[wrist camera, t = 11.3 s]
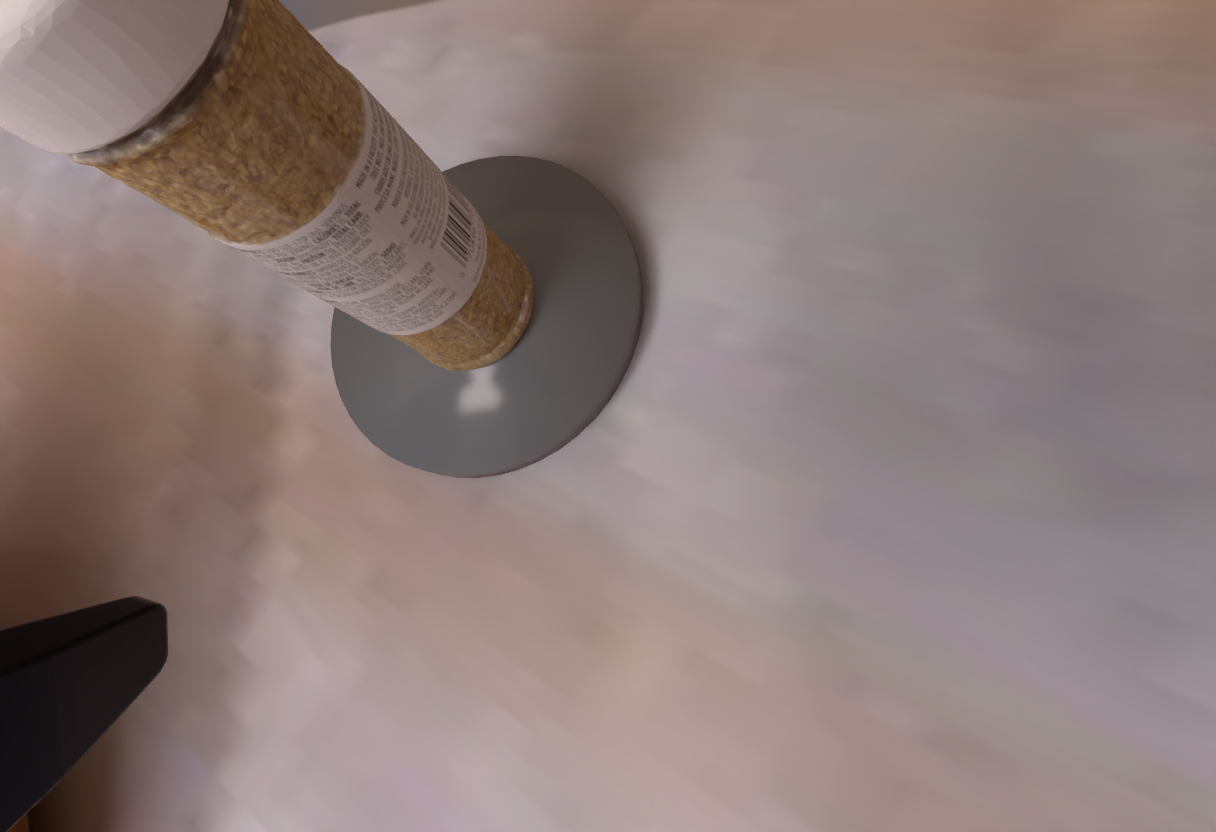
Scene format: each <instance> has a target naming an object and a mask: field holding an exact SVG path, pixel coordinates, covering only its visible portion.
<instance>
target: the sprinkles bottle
mask: <svg viewBox="0 0 1216 832" xmlns="http://www.w3.org/2000/svg"><path fill="white" fill-rule="evenodd" d="M0 127H2V128H4V129H5V130H7V131H9V132H11V133H13V134H14V135H16V136H18V137H20V138H22V139H23V140H25V141H27V142H29V143H31V144H32V145H34V146H36V147H38V148H40V149H43V150H47V151H50V152H54V153H62V154H68V155H69V158H70V159H71V160H72V161H75V162H77V163H80V164H85V165H91V166H95V167H97V168H98V169H100V170H102V171H103V172H105V173H106V174H108V175H110V176H111V177H113V178H115V179H119V180H121V181H122V182H124V184H125V185H127V186H129V187H131V188H133V189H136V190H138V191H140V192H141V193H143V194H144V195H146V196H147V197H150V198H152V199H153V200H154V201H156V202H158V203H160V204H162V205H164V206H165V207H167V208H169V209H171V210H173V211H174V212H176V213H178V214H179V215H181V216H183V217H185V218H186V219H188V220H190V221H191V222H192V223H194V224H195V225H197V226H199V227H201V228H202V229H204V230H207V231H208V232H209V234H210V235H211V236H212V237H213V238H214V239H216V240H218V241H219V242H221V243H223V244H225V245H226V246H228V247H230V248H232V249H233V250H235V251H237V252H239V253H241V254H242V255H244V256H246V257H248V258H249V259H251V260H253V261H255V262H257V263H258V264H260V265H262V266H264V267H265V268H267V269H269V270H271V271H273V272H274V273H276V274H278V275H280V276H281V277H283V278H285V279H287V280H288V281H290V282H292V283H294V284H296V285H297V286H299V287H301V288H303V289H304V290H306V291H308V292H310V293H311V294H313V295H315V296H317V297H319V298H320V299H322V300H324V301H326V302H327V303H329V304H331V305H333V306H334V307H336V308H338V309H340V310H342V311H343V312H345V313H347V314H349V315H350V316H352V317H354V318H356V319H358V320H359V321H361V322H363V323H365V324H367V325H368V326H370V327H372V328H374V329H376V330H378V331H381V332H384V333H387V334H388V335H390V336H392V337H394V338H396V339H398V340H400V341H401V342H403V343H405V344H407V345H408V346H410V347H412V348H413V349H415V350H417V352H418V353H419V354H420V355H422V356H423V357H424V358H425V359H426V360H428V361H429V362H431V363H433V364H435V365H437V366H440V367H442V368H444V369H447V370H449V371H460V370H461V371H467V370H474V369H478V368H482V367H484V366H487V365H489V364H491V363H493V362H495V361H497V360H500V359H501V358H502V357H503V356H504V355H505V354H506V353H507V352H508V351H509V350H511V349H512V347H513V346H514V345H515V343H516V342H517V341H518V340H519V339H520V337H521V336H522V334H523V332H524V330H525V328H526V327H527V325H528V322H529V320H530V318H531V316H532V309H533V303H534V294H533V281H532V277H531V275H530V273H529V270H528V267H527V266H526V264H525V262H524V260H523V259H522V258H521V257H520V256H519V255H518V254H517V253H516V252H515V251H514V250H513V249H512V248H511V247H510V246H509V245H507V244H505V243H502V242H501V241H500V240H499V238H498V237H497V236H496V235H495V234H494V233H493V232H492V231H491V230H490V229H489V228H488V227H487V226H486V225H485V224H484V222H483V221H482V220H481V218H480V216H479V214H478V212H477V211H476V209H475V208H474V207H473V206H472V204H471V203H470V202H469V201H468V200H467V199H466V198H465V197H464V196H463V194H462V193H461V192H460V191H459V190H458V189H457V188H456V187H455V186H454V185H453V183H452V182H451V181H450V180H449V179H448V178H447V177H446V176H445V175H444V174H443V172H442V171H441V170H440V169H439V168H438V167H437V166H436V165H435V164H434V163H433V161H432V160H431V159H430V158H429V157H428V156H427V155H426V154H425V153H424V151H423V150H422V149H421V148H420V147H419V146H418V145H417V144H416V143H415V141H414V140H413V139H412V138H411V137H410V136H409V135H408V134H407V133H406V131H405V130H404V129H403V128H402V127H401V126H400V125H399V124H398V123H397V121H396V120H395V119H394V118H393V117H392V116H391V115H390V114H389V113H388V112H387V111H386V109H385V108H384V107H383V106H382V105H381V104H380V103H379V102H378V101H377V100H376V99H375V98H374V96H373V95H372V94H371V93H370V92H369V91H368V90H367V89H366V88H365V87H364V86H363V84H362V83H361V82H360V81H359V80H358V79H357V78H356V77H355V76H354V75H353V74H352V73H351V72H350V71H349V70H348V69H346V68H345V67H343V66H341V65H340V64H338V63H337V62H336V61H335V60H334V58H333V57H332V56H331V55H330V54H329V53H328V52H327V51H326V50H325V49H324V48H323V46H322V45H321V44H320V43H319V42H318V41H317V40H316V39H315V38H314V37H313V36H312V35H311V34H309V33H308V31H307V30H306V29H305V28H304V27H303V26H302V25H301V24H300V22H299V21H298V20H297V19H296V18H295V16H294V15H293V14H292V13H291V12H289V11H288V10H287V9H286V8H285V6H284V5H283V4H282V3H281V2H279V1H278V0H0Z"/></svg>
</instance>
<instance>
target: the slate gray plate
mask: <svg viewBox="0 0 1216 832" xmlns="http://www.w3.org/2000/svg"><path fill="white" fill-rule="evenodd" d="M443 174H444V175H445V176H446V177H447V178H448V179H449V180H450V181H451V182H452V183H453V185H454V186H455V187H456V188H457V189H458V190H459V191H460V192H461V193H462V194H463V196H464V197H465V198H466V199H467V200H468V201H469V202H470V203H471V204H472V206H473V207H474V208H475V209H476V211H477V212H478V214H479V216H480V218H481V220H482V221H483V222H484V224H485V225H486V226H487V227H488V228H489V229H490V230H491V231H492V232H493V233H494V234H495V235H496V236H497V237H498V238H499V240H500V241H501V242H502V243H505V244H507V245H509V246H510V247H511V248H512V249H513V250H514V251H515V252H516V253H517V254H518V255H519V256H520V257H521V258H522V259H523V260H524V262H525V264H526V266H527V267H528V270H529V273H530V275H531V277H532V281H533V294H534V303H533V309H532V316H531V318H530V320H529V322H528V325H527V327H526V328H525V330H524V332H523V334H522V336H521V337H520V339H519V340H518V341H517V342H516V343H515V345H514V346H513V347H512V349H511V350H509V351H508V352H507V353H506V354H505V355H504V356H503V357H502V358H501V359H500V360H497V361H495V362H493V363H491V364H489V365H487V366H484V367H482V368H478V369H474V370H467V371H461V370H460V371H449V370H447V369H444V368H442V367H440V366H437V365H435V364H433V363H431V362H429V361H428V360H426V359H425V358H424V357H423V356H422V355H420V354H419V353H418V352H417V350H415V349H413V348H412V347H410V346H408V345H407V344H405V343H403V342H401V341H400V340H398V339H396V338H394V337H392V336H390V335H388V334H387V333H384V332H381V331H378V330H376V329H374V328H372V327H370V326H368V325H367V324H365V323H363V322H361V321H359V320H358V319H356V318H354V317H352V316H350V315H349V314H347V313H345V312H343V311H342V310H340V309H338V308H336V307H335V309H334V315H333V321H332V329H331V355H332V366H333V371H334V376H335V381H336V384H337V387H338V390H339V393H340V396H341V399H342V401H343V403H344V405H345V407H346V409H347V411H348V413H349V415H350V417H351V418H352V419H353V421H354V422H355V424H356V425H357V426H358V428H359V429H360V430H361V432H362V433H363V434H364V435H365V436H366V437H367V438H368V439H369V440H370V441H371V442H372V443H373V444H374V445H375V446H377V447H378V448H379V449H381V450H382V451H383V452H385V453H386V454H388V455H389V456H391V457H393V458H395V459H397V460H399V461H400V462H402V463H404V464H406V465H409V466H412V467H416V468H419V469H422V470H425V471H428V472H432V473H436V474H440V475H446V476H452V477H461V478H480V477H487V476H495V475H501V474H504V473H508V472H511V471H515V470H519V469H521V468H524V467H526V466H528V465H531V464H533V463H535V462H538V461H540V460H542V459H544V458H545V457H547V456H549V455H550V454H552V453H554V452H555V451H557V450H559V449H560V448H562V447H563V446H564V445H566V444H567V443H568V442H569V441H571V440H572V439H573V438H575V437H576V436H577V435H578V434H580V433H581V432H582V431H583V430H584V429H585V428H586V427H587V426H588V425H589V424H590V423H591V422H592V421H593V420H594V419H595V418H596V416H597V415H598V414H599V413H600V411H601V410H602V409H603V408H604V406H605V405H606V404H607V403H608V401H609V400H610V398H611V397H612V395H613V393H614V392H615V390H616V389H617V387H618V385H619V384H620V382H621V380H622V378H623V376H624V374H625V372H626V370H627V368H628V365H629V363H630V361H631V359H632V355H633V352H634V349H635V346H636V343H637V340H638V336H639V330H640V324H641V319H642V306H643V288H642V278H641V271H640V267H639V263H638V259H637V255H636V252H635V249H634V247H633V244H632V242H631V239H630V237H629V235H628V233H627V231H626V229H625V227H624V225H623V223H622V222H621V220H620V218H619V217H618V215H617V213H616V212H615V210H614V208H613V207H612V205H611V204H610V203H609V202H608V201H607V199H606V198H605V197H604V196H603V195H602V194H601V192H600V191H599V190H597V189H596V188H595V187H594V186H593V185H592V184H590V183H589V182H588V181H587V180H586V179H584V178H583V177H581V176H579V175H578V174H576V173H574V172H573V171H571V170H569V169H567V168H565V167H562V166H560V165H558V164H555V163H553V162H549V161H545V160H541V159H537V158H530V157H521V156H498V157H491V158H485V159H479V160H475V161H471V162H468V163H464V164H461V165H458V166H456V167H453V168H451V169H448V170H446V171H443Z"/></svg>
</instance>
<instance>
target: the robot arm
mask: <svg viewBox="0 0 1216 832" xmlns="http://www.w3.org/2000/svg"><path fill="white" fill-rule="evenodd" d="M167 657H168V625H167V611H166V609H165V607H164V606H163V605H162V604H160V603H157V602H154V601H151V600H148V599H145V598H142V597H137V596H131V597H127V598H123V599H119V600H115V601H111V602H107V603H103V604H99V605H96V606H92V607H88V608H84V609H80V610H76V611H72V612H69V613H65V614H61V615H57V616H53V617H49V618H45V619H42V620H38V621H34V622H30V623H26V624H22V625H18V626H14V627H11V628H7V629H3V630H0V832H7V831H8V830H10V829H11V828H12V827H13V826H14V825H15V824H16V823H17V822H18V821H19V820H20V819H21V818H22V817H23V816H24V815H25V814H26V813H27V812H29V811H30V810H31V809H32V808H33V807H34V806H35V805H36V804H37V803H38V802H39V801H40V800H41V799H42V798H43V797H44V796H45V795H46V794H47V793H48V792H49V791H50V790H52V789H53V788H54V787H55V786H56V785H57V784H58V783H59V782H60V781H61V780H62V779H63V778H64V777H65V776H66V775H67V774H68V772H69V771H70V770H71V769H72V768H73V767H74V766H75V765H76V764H77V763H78V762H79V761H80V760H81V759H82V758H83V757H84V755H85V754H86V753H87V752H88V751H89V750H90V749H91V748H92V747H93V745H94V744H95V743H96V742H97V741H98V740H99V739H100V738H101V737H102V736H103V734H104V733H105V732H106V731H107V730H108V729H109V728H110V727H111V726H112V724H113V723H114V722H115V721H116V720H117V719H118V718H119V717H120V716H121V715H122V713H123V712H124V711H125V710H126V709H127V708H128V707H129V706H130V705H131V703H132V702H133V701H134V700H135V699H136V698H137V697H138V696H139V695H140V694H141V692H142V691H143V690H144V689H145V688H146V687H147V686H148V685H149V684H150V682H151V681H152V680H153V679H154V678H155V677H156V676H157V675H158V673H159V672H160V671H161V669H162V668H163V666H164V664H165V662H166V660H167Z"/></svg>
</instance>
